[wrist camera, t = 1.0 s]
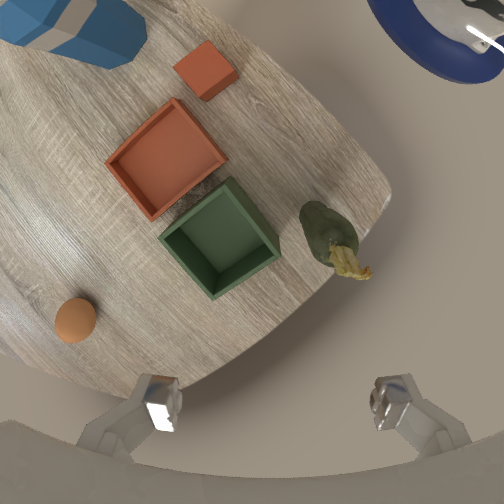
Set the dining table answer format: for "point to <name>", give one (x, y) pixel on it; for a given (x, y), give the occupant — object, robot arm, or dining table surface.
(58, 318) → the egg
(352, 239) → the vegetable
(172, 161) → the terracotta tray
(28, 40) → the water bottle
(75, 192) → the dining table surface
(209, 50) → the terracotta block
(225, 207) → the produce bin
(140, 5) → the dining table surface
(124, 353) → the dining table surface
